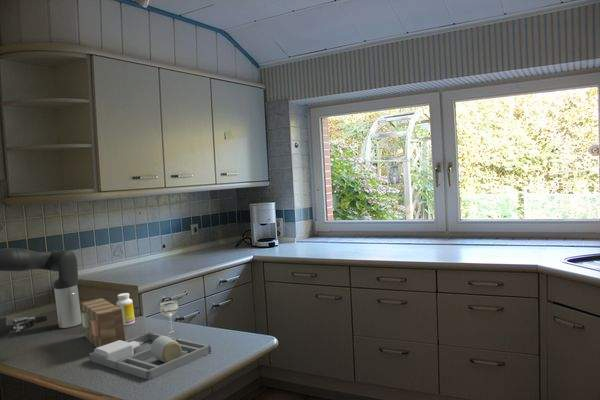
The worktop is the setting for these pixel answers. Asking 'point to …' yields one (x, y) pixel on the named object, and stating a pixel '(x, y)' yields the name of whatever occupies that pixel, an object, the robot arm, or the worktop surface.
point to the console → (103, 322)
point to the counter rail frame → (149, 370)
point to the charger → (118, 349)
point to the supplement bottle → (126, 308)
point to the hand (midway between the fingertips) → (46, 317)
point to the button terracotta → (95, 328)
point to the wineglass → (169, 309)
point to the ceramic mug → (166, 349)
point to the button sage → (85, 320)
